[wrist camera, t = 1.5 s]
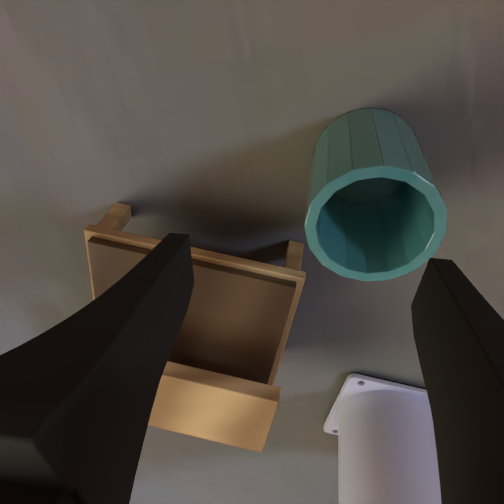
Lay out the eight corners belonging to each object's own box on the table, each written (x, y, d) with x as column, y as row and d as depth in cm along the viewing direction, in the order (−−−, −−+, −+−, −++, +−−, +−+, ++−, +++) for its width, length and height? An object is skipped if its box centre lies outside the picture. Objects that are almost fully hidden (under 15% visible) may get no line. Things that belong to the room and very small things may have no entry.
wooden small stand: (312, 241, 24) (306, 322, 19) (273, 370, 31) (261, 453, 26) (109, 196, 24) (47, 263, 19) (120, 335, 32) (79, 408, 27)
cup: (436, 120, 19) (473, 183, 14) (396, 213, 22) (414, 293, 17) (327, 97, 19) (324, 152, 14) (302, 193, 22) (292, 266, 17)
